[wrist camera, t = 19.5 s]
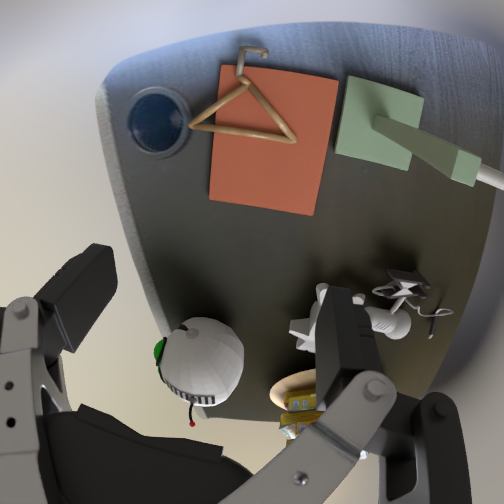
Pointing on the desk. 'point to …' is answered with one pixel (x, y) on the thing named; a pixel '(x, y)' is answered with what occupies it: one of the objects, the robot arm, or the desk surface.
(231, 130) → the hanger
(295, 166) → the mat
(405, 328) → the clip-on lamp
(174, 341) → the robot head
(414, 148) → the hook stand
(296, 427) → the stacked boxes on plate
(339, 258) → the desk surface
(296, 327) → the bunny figurine
